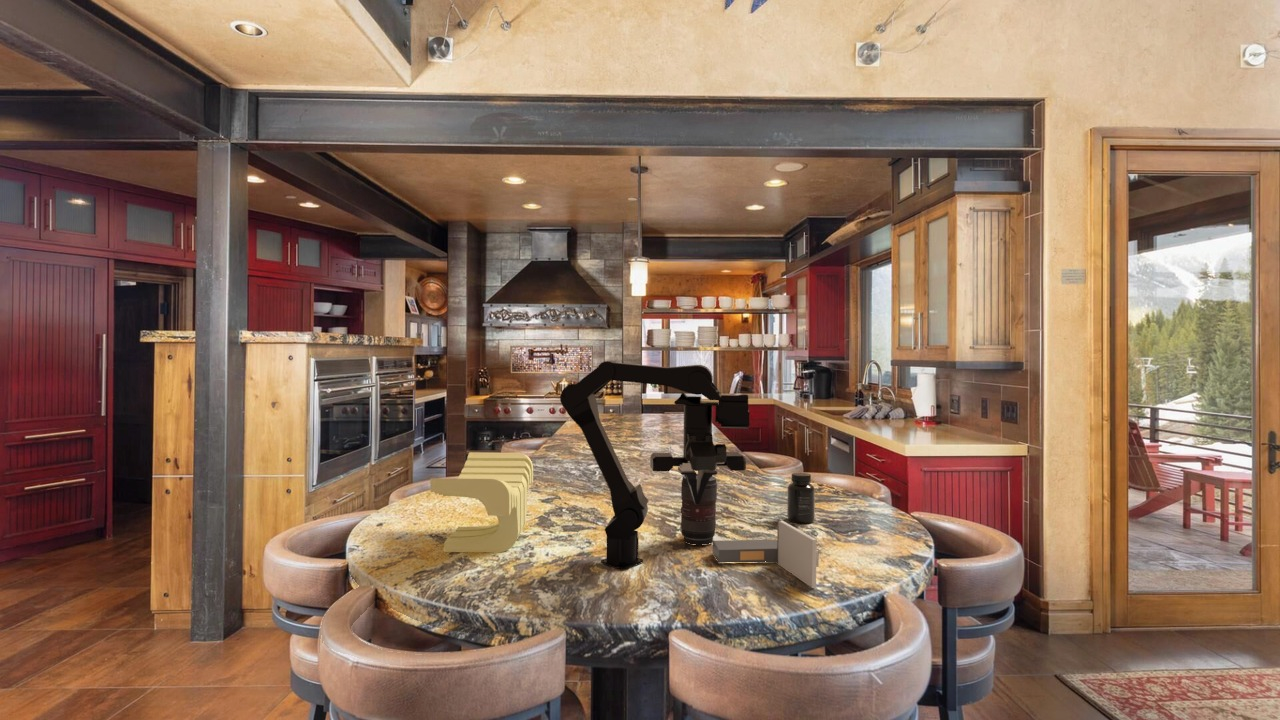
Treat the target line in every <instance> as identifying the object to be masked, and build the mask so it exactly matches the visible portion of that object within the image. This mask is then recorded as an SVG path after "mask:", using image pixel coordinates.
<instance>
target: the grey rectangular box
mask: <svg viewBox="0 0 1280 720" xmlns="http://www.w3.org/2000/svg"><path fill="white" fill-rule="evenodd" d="M713 554H714V556H715V557H716V559H717V560H718V562H765V561H766V562H777V538H776V539H742V540H741V539H738V540H737V539H733V540H732V539H731V540H730V539H729V540H713V542H712V555H713ZM714 556H713V557H714ZM715 557H714V558H715ZM716 559H715V560H716ZM718 562H717V563H718Z"/></svg>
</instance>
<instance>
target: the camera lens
mask: <svg viewBox="0 0 1280 720" xmlns="http://www.w3.org/2000/svg"><path fill="white" fill-rule="evenodd" d="M697 478H698V473H696V485H697ZM680 489H681V490H680V491H681V494H680V495H681V507H680V514H681V518H680V519H681V520H680V528H681V535H682V536H683V542H684V541H685V542H687V543H690V544H696V545H702V544H709V543H712V544H713V541H714V536H715V535H716V524H717V523H716V522H717V518H716V515H717V514H716V508H717V507H716V506H717V498H718V483H717V478H716V477H715V476H714V475H712V477H711V478H710V479H709V481H708V483H707V485H706V487H705V490H704V493H703V495H702V498H701V501H700V504H695V503H694V499H693V496H692V493H691V490H690V487H689V484H688V481H687V479H686V477H685V475H682V480H681V488H680ZM685 542H684V543H685Z"/></svg>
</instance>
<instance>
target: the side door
mask: <svg viewBox="0 0 1280 720" xmlns="http://www.w3.org/2000/svg"><path fill="white" fill-rule="evenodd" d="M776 533H777V538H776V540H777V563H778V564H779V565H778V566H780V567H782V568H783V569H784V570H786V571H788V572H789V573H790V574H791V573H792V574H791V575H793V576H794V577H795V578H798V579H799V580H800V581H801V582H803V583H804V584H805V585H807V586H808V587H810V588H811V589H816V587H817V568H818V567H819V565H820V564H819V563H820V561H819V560H820V559H819V553H820V552H819V550H818V549H817V546H818V544H817V542H818V540H817V538H814V537H813V536H811V535H809V534H808V533H805V532H804V531H802V530H800V529H798V528H797V527H795V526H793V525H791V524H790V523H789V522H786V521H784V520H783V519H782V518H777V532H776ZM777 563H776V564H777Z"/></svg>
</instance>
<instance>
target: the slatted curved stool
mask: <svg viewBox="0 0 1280 720" xmlns="http://www.w3.org/2000/svg"><path fill="white" fill-rule="evenodd" d="M429 481H430V482H429V483H430V485H429V486H430V491H429V492H430V493H434V494H435V495H436V494H438V495H441V496H442V497H458V498H459V497H460V498H461V497H462V498H469V499H475V500H478V501H479V502H481V503H482V505H483V506H484V508H485V510H486V512H487V513H486V514H487V516H489V517H490V516H491V517H493V516H494V517H496V518H497V521H498V522H497V523H494V524H488V525H479V526H478V525H477V526H476V525H475V526H458V527H457V528H456V529H455V531H453V532H452V533H451V534H450V535H449V536H448V537H447V538H446V540H445V541H444V543H443V551H442V552H444V553H447V552H448V553H462V552H463V553H503V552H506V551H508V550H510V549H511V548H512V547H513V546H514V545H515V543H516V542H517V540H518V538H519V537H520V535H521V534H522V531H523V530H524V528H525V526H526V524H527V508H528V493H529V489H530V485H531V484H534V465H533V461H532V460H531V458H530V457H529V456H528V455H527V454H525V453H523V452H492V451H491V452H482V451H481V452H480V451H479V452H475V451H474V452H473V451H472V452H468V455H467V458H466V460H465V463H464V465H463V467H462V469H461V472H460V474H459V475H458V477H457V478H444V477H443V478H439V477H438V478H432V477H431V478H430V480H429Z"/></svg>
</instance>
